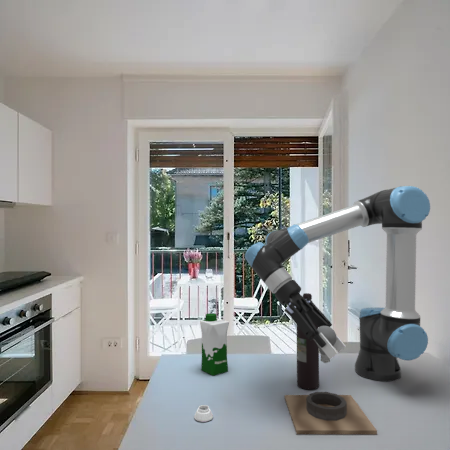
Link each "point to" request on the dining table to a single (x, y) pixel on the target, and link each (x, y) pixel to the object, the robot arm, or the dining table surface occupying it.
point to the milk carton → (214, 345)
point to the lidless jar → (203, 414)
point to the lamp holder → (327, 414)
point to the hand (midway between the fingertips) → (338, 352)
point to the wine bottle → (307, 359)
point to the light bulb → (330, 336)
